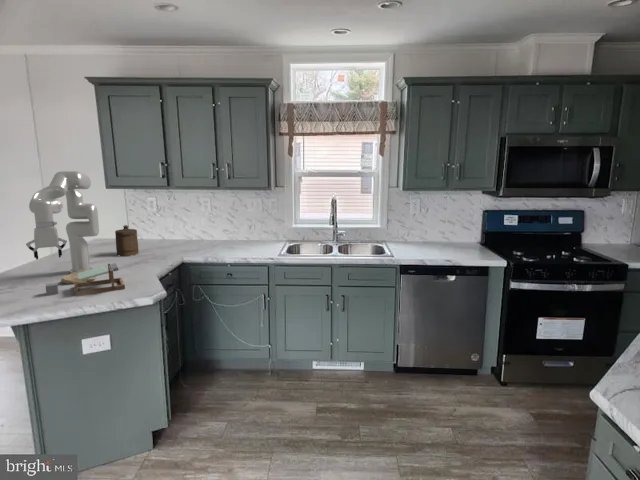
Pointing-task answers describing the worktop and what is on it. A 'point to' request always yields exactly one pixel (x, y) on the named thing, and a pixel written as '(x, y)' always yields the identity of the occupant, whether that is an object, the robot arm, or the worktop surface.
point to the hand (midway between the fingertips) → (48, 258)
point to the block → (52, 288)
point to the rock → (75, 278)
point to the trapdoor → (96, 272)
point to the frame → (97, 290)
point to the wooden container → (126, 241)
